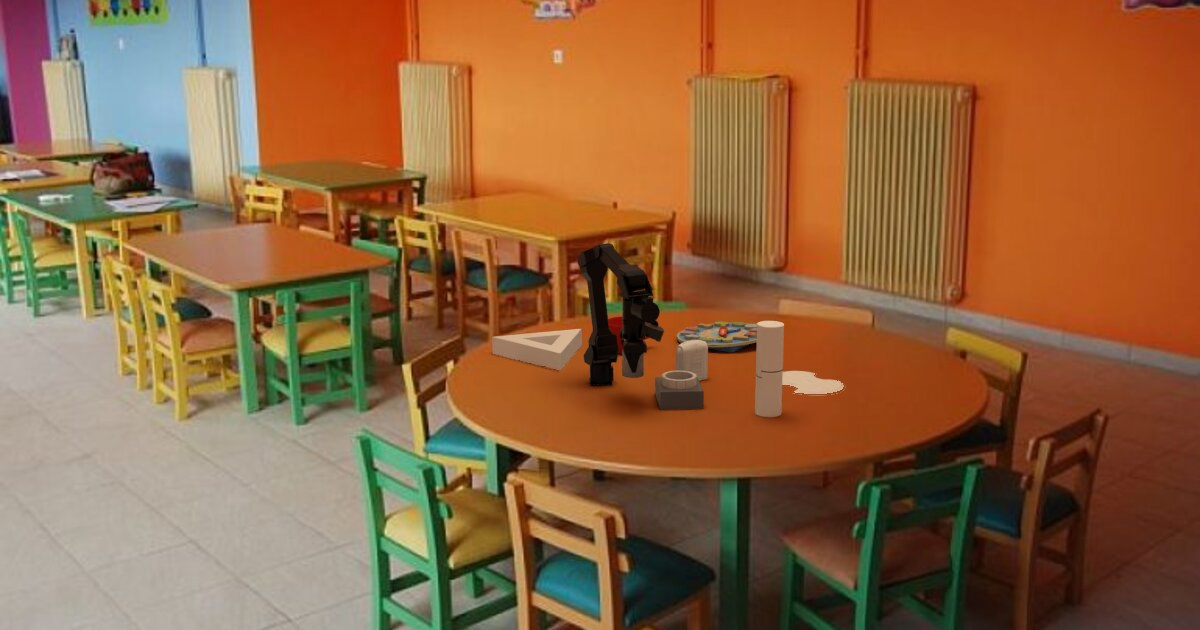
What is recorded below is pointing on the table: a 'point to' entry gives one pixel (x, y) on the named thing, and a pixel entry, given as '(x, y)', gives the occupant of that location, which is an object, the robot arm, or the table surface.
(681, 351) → the white rounded device
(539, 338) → the triangle block
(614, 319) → the ceramic cup
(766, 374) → the cylindrical container
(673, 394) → the gray ring-topped block
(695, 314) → the table surface
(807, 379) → the white puddle shape
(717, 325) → the shape sorting clock
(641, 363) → the grey rounded block
